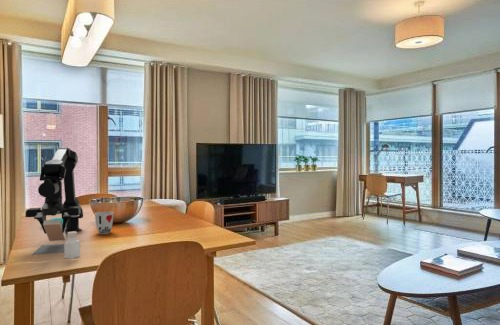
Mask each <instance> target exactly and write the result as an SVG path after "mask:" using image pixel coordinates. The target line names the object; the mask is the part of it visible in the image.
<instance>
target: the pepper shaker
mask: <svg viewBox="0 0 500 325" xmlns="http://www.w3.org/2000/svg"><path fill="white" fill-rule="evenodd" d="M66 233H67V234H66V238H67V240H65V242H64V243H63V244H64V248H65V253H64V258H65V259H69V260H74V259H77V258H79V257H81V241H80V240H78V232H77V231H72V232H66Z"/></svg>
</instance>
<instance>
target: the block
mask: <svg viewBox="0 0 500 325" xmlns="http://www.w3.org/2000/svg"><path fill="white" fill-rule="evenodd" d="M43 226H44V228H45V231H46V234H45V235H46V236H47V239H48V240H49V242H54V241H55V242H56V241H67V240H66V238H67V234H66V231H64V233H62V226H63V224H62V221H61V220H50V219H46V220H44V223H43Z"/></svg>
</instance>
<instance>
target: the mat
mask: <svg viewBox="0 0 500 325" xmlns="http://www.w3.org/2000/svg"><path fill="white" fill-rule="evenodd" d="M60 253H61V254H62V253H64V254H65V248H64V243H56V244H43V245H41V246H40V247H38V248H37V249H36V250H35V251H34V252H33V253H31V255H32V256H33V255H45V254H46V255H47V254H51V255H52V254H60Z"/></svg>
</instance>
